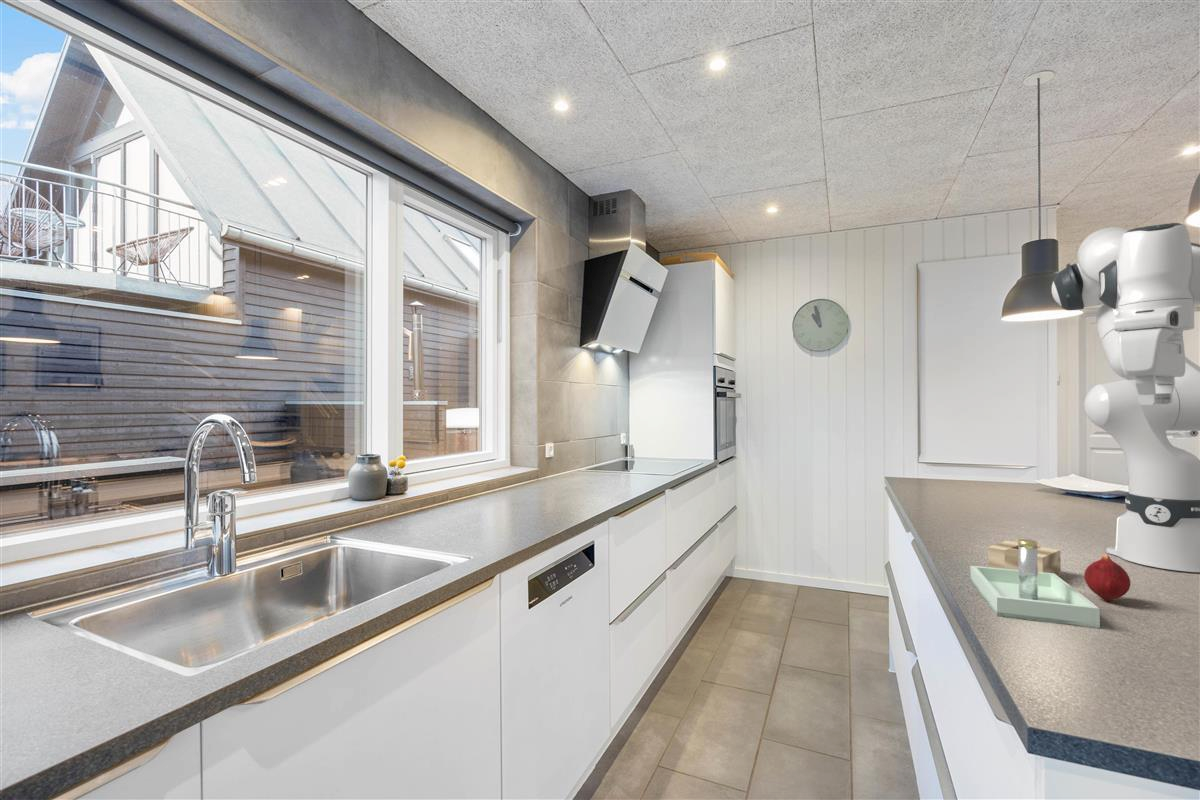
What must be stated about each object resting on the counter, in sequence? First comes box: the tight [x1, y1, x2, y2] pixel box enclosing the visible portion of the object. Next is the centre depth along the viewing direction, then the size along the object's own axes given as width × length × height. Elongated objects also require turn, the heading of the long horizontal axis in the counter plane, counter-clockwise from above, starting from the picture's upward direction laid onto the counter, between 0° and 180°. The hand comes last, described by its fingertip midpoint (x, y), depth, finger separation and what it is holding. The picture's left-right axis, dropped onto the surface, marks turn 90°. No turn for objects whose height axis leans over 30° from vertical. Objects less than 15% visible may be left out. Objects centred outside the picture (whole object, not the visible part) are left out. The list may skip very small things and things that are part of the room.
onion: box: [1083, 553, 1132, 602], centre depth 93 cm, size 6×6×8 cm
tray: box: [970, 565, 1101, 629], centre depth 93 cm, size 18×13×3 cm
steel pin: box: [1017, 538, 1038, 600], centre depth 93 cm, size 3×3×10 cm
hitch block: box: [987, 540, 1062, 577], centre depth 108 cm, size 9×9×5 cm
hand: (1155, 404), depth 89 cm, fingers open, 8 cm apart
